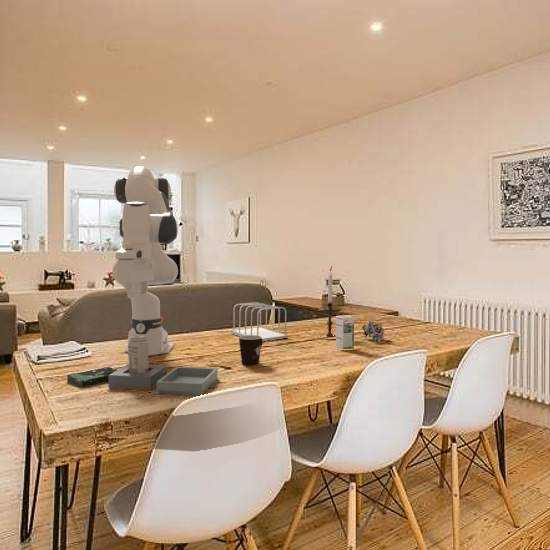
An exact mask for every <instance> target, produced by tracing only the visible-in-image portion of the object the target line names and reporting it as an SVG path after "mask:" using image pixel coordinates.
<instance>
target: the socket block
mask: <svg viewBox="0 0 550 550" xmlns="http://www.w3.org/2000/svg"><path fill="white" fill-rule="evenodd" d="M167 370H168V369H167V365H150V364H148V372H147V373H146V374H135V373H129V363H128V364H126V365H124V366H122V367H121V368H119V369H117V371H115V372H113V373H111V374H110V375H109V382H108V389H109V388H110V389H123V390H124V389H127V390H130V389H131V390H145V389H151V390H152V389H153V387H154V388H155V387H156V382H157V381H158V380H160V379H161V378H162V377H164V376H165V375H167V374H168V373H167Z"/></svg>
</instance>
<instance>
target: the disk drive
mask: <svg viewBox="0 0 550 550" xmlns="http://www.w3.org/2000/svg"><path fill="white" fill-rule="evenodd" d="M117 370H118V369H117V368H113V367H111V366H107V367H106V366H105V367H101V368H96V369H91V370H86V371H81V372H76V373H72V374H71V373H70V374H67V377H66V379H67V382H68V383H70V384H73V385H75V386H77V387H79V386H80V388H81V387H83V388H87V387H91V386H96V385H100V384H104V383H109V375H110V374H111V373H113V372H115V371H117ZM86 386H87V387H86Z"/></svg>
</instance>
